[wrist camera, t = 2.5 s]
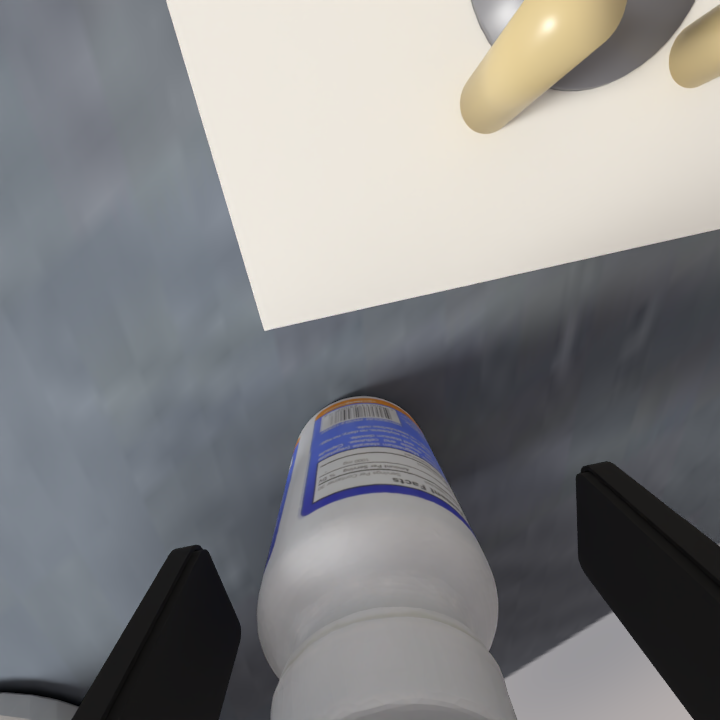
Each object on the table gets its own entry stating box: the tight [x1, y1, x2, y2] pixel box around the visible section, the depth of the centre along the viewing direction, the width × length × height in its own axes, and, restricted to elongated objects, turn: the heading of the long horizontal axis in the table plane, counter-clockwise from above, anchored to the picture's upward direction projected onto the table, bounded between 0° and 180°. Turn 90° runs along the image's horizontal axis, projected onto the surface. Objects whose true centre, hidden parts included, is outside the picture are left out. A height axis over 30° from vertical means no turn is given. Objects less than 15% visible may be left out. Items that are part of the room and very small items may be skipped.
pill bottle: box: [257, 396, 517, 720], centre depth 10 cm, size 5×5×10 cm
